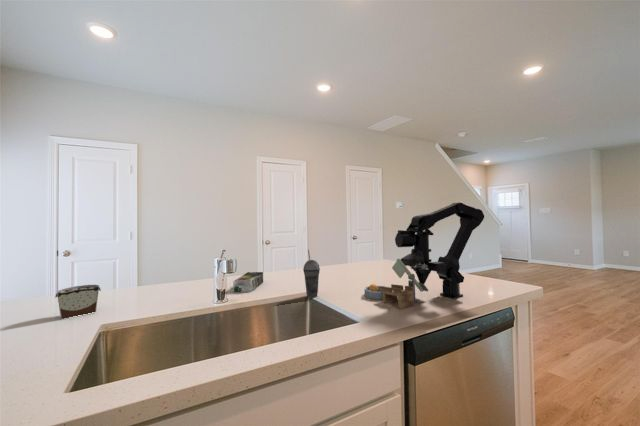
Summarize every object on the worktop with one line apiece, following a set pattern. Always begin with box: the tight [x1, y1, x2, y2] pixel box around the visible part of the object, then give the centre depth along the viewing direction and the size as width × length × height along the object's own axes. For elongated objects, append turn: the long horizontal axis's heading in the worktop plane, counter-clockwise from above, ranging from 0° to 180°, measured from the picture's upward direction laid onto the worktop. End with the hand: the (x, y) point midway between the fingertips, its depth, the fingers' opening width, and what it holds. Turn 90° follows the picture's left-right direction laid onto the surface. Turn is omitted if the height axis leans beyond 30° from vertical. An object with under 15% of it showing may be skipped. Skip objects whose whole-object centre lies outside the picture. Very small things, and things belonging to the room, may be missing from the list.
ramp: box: [380, 284, 415, 309], centre depth 102 cm, size 7×11×7 cm, turn 27°
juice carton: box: [232, 271, 264, 293], centre depth 132 cm, size 20×10×6 cm, turn 177°
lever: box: [391, 258, 429, 293], centre depth 103 cm, size 19×4×6 cm
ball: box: [368, 283, 378, 292], centre depth 113 cm, size 4×4×4 cm
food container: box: [54, 284, 101, 320], centre depth 98 cm, size 12×6×10 cm, turn 135°
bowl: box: [364, 285, 386, 301], centre depth 112 cm, size 11×11×3 cm
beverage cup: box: [302, 249, 321, 299], centre depth 114 cm, size 7×7×20 cm
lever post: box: [407, 279, 421, 304], centre depth 104 cm, size 4×4×8 cm
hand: (422, 285), depth 107 cm, fingers closed, pressing on lever
